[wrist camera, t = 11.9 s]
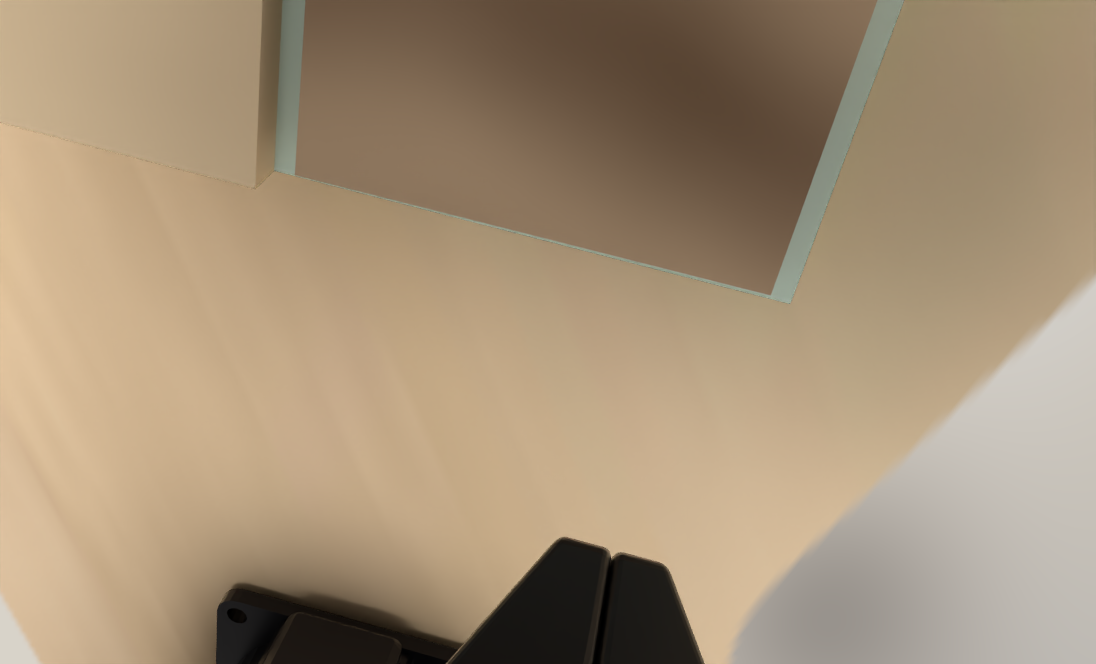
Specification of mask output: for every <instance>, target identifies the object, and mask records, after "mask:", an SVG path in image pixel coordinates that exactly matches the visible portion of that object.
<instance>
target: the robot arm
mask: <svg viewBox="0 0 1096 664" xmlns="http://www.w3.org/2000/svg"><path fill="white" fill-rule="evenodd" d="M216 664H705V663H704V661H703V658H702V656H701V653H700V650H699V648H698V645H697V642H696V640H695V637H694V634H693V632H692V629H691V626H690V624H689V621H688V618H687V616H686V613H685V610H684V608H683V605H682V603H681V600H680V597H679V595H678V592H677V589H676V587H675V584H674V581H673V579H672V576H671V574H670V572H669V570H668V568H667V567H666V566H665V565H663V564H662V563H659V562H656V561H652V560H649V559H645V558H641V557H638V556H634V555H630V554H627V553H621V552H620V553H617V554H615V555H614V556H613V557H612V559H611V555H610V552H609V551H608V550H607V549H606V548H604V547H601V546H598V545H594V544H590V543H586V542H583V541H579V540H575V539H572V538H568V537H562V538H559V539H558V540H556V541H555V542H554V543H553V544H552V545H551V546H550V547H549V548H548V549H547V551H546V552H545V553H544V554H543V555H542V556H541V557H540V558H539V560H538V561H537V562H536V563H535V564H534V565H533V566H532V567H531V569H530V570H529V571H528V572H527V573H526V574H525V575H524V576H523V578H522V579H521V580H520V581H519V582H518V583H517V584H516V585H515V587H514V588H513V589H512V590H511V591H510V592H509V593H508V594H507V596H506V597H505V598H504V599H503V600H502V601H501V602H500V603H499V605H498V606H497V607H496V608H495V609H494V610H493V611H492V612H491V614H490V615H489V616H488V617H487V618H486V619H485V620H484V621H483V623H482V624H481V625H480V626H479V627H478V628H477V629H476V630H475V632H474V633H473V634H472V635H471V636H470V637H469V638H468V639H467V641H466V642H465V643H464V644H463V645H462V646H461V647H460V648H459V650H458V649H455V648H451V647H448V646H444V645H440V644H437V643H433V642H430V641H426V640H423V639H419V638H415V637H412V636H408V635H405V634H401V633H398V632H394V631H390V630H387V629H383V628H380V627H376V626H373V625H369V624H365V623H362V622H358V621H355V620H351V619H348V618H344V617H340V616H337V615H333V614H330V613H326V612H323V611H319V610H315V609H312V608H308V607H305V606H301V605H298V604H294V603H290V602H287V601H283V600H280V599H276V598H273V597H269V596H265V595H262V594H258V593H255V592H251V591H248V590H243V589H233V590H230V591H228V592H227V593H226V594H225V596H224V598H223V599H222V601H221V603H220V604H219V607H218V610H217V648H216Z"/></svg>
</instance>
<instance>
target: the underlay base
mask: <svg viewBox="0 0 1096 664" xmlns="http://www.w3.org/2000/svg"><path fill="white" fill-rule="evenodd" d="M903 3H904V0H877V3H876V6H875V9H874V11H873V14H872V17H871V20H870V22H869V25H868V28H867V31H866V34H865V36H864V39H863V42H862V45H861V47H860V50H859V53H858V56H857V58H856V61H855V64H854V67H853V69H852V72H851V75H850V78H849V81H848V83H847V86H846V89H845V92H844V94H843V97H842V100H841V103H840V105H839V108H838V111H837V114H836V116H835V119H834V122H833V125H832V128H831V130H830V133H829V136H828V139H827V141H826V144H825V147H824V150H823V152H822V155H821V158H820V161H819V163H818V166H817V169H816V172H815V175H814V177H813V180H812V183H811V186H810V188H809V191H808V194H807V197H806V199H805V202H804V205H803V208H802V210H801V213H800V216H799V219H798V222H797V224H796V227H795V230H794V233H793V235H792V238H791V241H790V244H789V246H788V249H787V252H786V255H785V257H784V260H783V263H782V266H781V269H780V271H779V274H778V277H777V280H776V282H775V285H774V288H773V291H772V293H771V295H767V294H763V293H759V292H755V291H751V290H747V289H743V288H739V287H735V286H731V285H727V284H723V283H719V282H715V281H712V280H708V279H704V278H700V277H696V276H692V275H688V274H684V273H680V272H676V271H672V270H668V269H664V268H660V267H656V266H652V265H648V264H644V263H640V262H636V261H632V260H628V259H624V258H621V257H617V256H613V255H609V254H605V253H601V252H597V251H593V250H589V249H585V248H581V247H577V246H573V245H569V244H565V243H561V242H557V241H553V240H549V239H545V238H541V237H537V236H533V235H530V234H526V233H522V232H518V231H514V230H510V229H506V228H502V227H498V226H494V225H490V224H486V223H482V222H478V221H474V220H470V219H466V218H462V217H458V216H454V215H450V214H446V213H443V212H439V211H435V210H431V209H427V208H423V207H419V206H415V205H411V204H407V203H403V202H399V201H395V200H391V199H387V198H383V197H379V196H375V195H371V194H367V193H363V192H359V191H355V190H352V189H348V188H344V187H340V186H336V185H332V184H328V183H324V182H320V181H316V180H312V179H308V178H304V177H300V176H297V177H300V178H304V179H308V180H312V181H316V182H320V183H324V184H327V185H331V186H335V187H339V188H343V189H347V190H351V191H355V192H358V193H362V194H366V195H370V196H374V197H378V198H382V199H386V200H389V201H393V202H397V203H401V204H405V205H409V206H413V207H416V208H420V209H424V210H428V211H432V212H436V213H440V214H444V215H447V216H451V217H455V218H459V219H463V220H467V221H471V222H475V223H478V224H482V225H486V226H490V227H494V228H498V229H502V230H506V231H509V232H513V233H517V234H521V235H525V236H529V237H533V238H536V239H540V240H544V241H548V242H552V243H556V244H560V245H564V246H567V247H571V248H575V249H579V250H583V251H587V252H591V253H595V254H598V255H602V256H606V257H610V258H614V259H618V260H622V261H625V262H629V263H633V264H637V265H641V266H645V267H649V268H653V269H656V270H660V271H664V272H668V273H672V274H676V275H680V276H684V277H687V278H691V279H695V280H699V281H703V282H707V283H711V284H714V285H718V286H722V287H726V288H730V289H734V290H738V291H742V292H745V293H749V294H753V295H757V296H761V297H765V298H769V299H773V300H776V301H780V302H784V303H788V304H790V303H791V301H792V298H793V295H794V293H795V290H796V287H797V285H798V282H799V279H800V277H801V274H802V271H803V269H804V266H805V263H806V261H807V258H808V255H809V253H810V250H811V247H812V245H813V242H814V239H815V237H816V234H817V231H818V229H819V226H820V223H821V221H822V218H823V215H824V213H825V210H826V207H827V205H828V202H829V199H830V197H831V194H832V191H833V189H834V186H835V183H836V181H837V178H838V175H839V173H840V170H841V168H842V165H843V162H844V160H845V157H846V154H847V152H848V149H849V146H850V144H851V141H852V138H853V136H854V133H855V130H856V128H857V125H858V122H859V120H860V117H861V114H862V112H863V109H864V106H865V104H866V101H867V98H868V96H869V93H870V90H871V88H872V85H873V82H874V80H875V77H876V74H877V72H878V69H879V66H880V64H881V61H882V58H883V56H884V53H885V50H886V48H887V45H888V42H889V40H890V37H891V34H892V32H893V29H894V26H895V24H896V21H897V19H898V16H899V13H900V11H901V8H902V5H903ZM304 15H305V0H0V123H2V124H6V125H10V126H14V127H17V128H21V129H25V130H29V131H33V132H37V133H41V134H44V135H48V136H52V137H56V138H60V139H64V140H68V141H71V142H75V143H79V144H83V145H87V146H91V147H95V148H98V149H102V150H106V151H110V152H114V153H118V154H121V155H125V156H129V157H133V158H137V159H141V160H145V161H148V162H152V163H156V164H160V165H164V166H168V167H172V168H175V169H179V170H183V171H187V172H191V173H195V174H199V175H202V176H206V177H210V178H214V179H218V180H222V181H225V182H229V183H233V184H237V185H241V186H245V187H249V188H252V189H256V188H257V187H258V186H259V185H260V184H261V183H262V182H263V181H264V180H265V179H266V178H267V177H268V176H269V175H270V174H271V173H272V172H273V171H277V172H281V173H285V174H289V175H293V176H296V175H295V163H296V147H297V130H298V114H299V97H300V81H301V64H302V48H303V31H304Z"/></svg>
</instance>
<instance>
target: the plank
mask: <svg viewBox="0 0 1096 664" xmlns="http://www.w3.org/2000/svg"><path fill="white" fill-rule="evenodd" d="M876 3H877V0H305V15H304V31H303V48H302V64H301V81H300V97H299V114H298V130H297V147H296V163H295V175H296V176H300V177H304V178H308V179H312V180H316V181H320V182H324V183H328V184H332V185H336V186H340V187H344V188H348V189H352V190H355V191H359V192H363V193H367V194H371V195H375V196H379V197H383V198H387V199H391V200H395V201H399V202H403V203H407V204H411V205H415V206H419V207H423V208H427V209H431V210H435V211H439V212H443V213H446V214H450V215H454V216H458V217H462V218H466V219H470V220H474V221H478V222H482V223H486V224H490V225H494V226H498V227H502V228H506V229H510V230H514V231H518V232H522V233H526V234H530V235H533V236H537V237H541V238H545V239H549V240H553V241H557V242H561V243H565V244H569V245H573V246H577V247H581V248H585V249H589V250H593V251H597V252H601V253H605V254H609V255H613V256H617V257H621V258H624V259H628V260H632V261H636V262H640V263H644V264H648V265H652V266H656V267H660V268H664V269H668V270H672V271H676V272H680V273H684V274H688V275H692V276H696V277H700V278H704V279H708V280H712V281H715V282H719V283H723V284H727V285H731V286H735V287H739V288H743V289H747V290H751V291H755V292H759V293H763V294H767V295H771V293H772V291H773V288H774V285H775V282H776V280H777V277H778V274H779V271H780V269H781V266H782V263H783V260H784V257H785V255H786V252H787V249H788V246H789V244H790V241H791V238H792V235H793V233H794V230H795V227H796V224H797V222H798V219H799V216H800V213H801V210H802V208H803V205H804V202H805V199H806V197H807V194H808V191H809V188H810V186H811V183H812V180H813V177H814V175H815V172H816V169H817V166H818V163H819V161H820V158H821V155H822V152H823V150H824V147H825V144H826V141H827V139H828V136H829V133H830V130H831V128H832V125H833V122H834V119H835V116H836V114H837V111H838V108H839V105H840V103H841V100H842V97H843V94H844V92H845V89H846V86H847V83H848V81H849V78H850V75H851V72H852V69H853V67H854V64H855V61H856V58H857V56H858V53H859V50H860V47H861V45H862V42H863V39H864V36H865V34H866V31H867V28H868V25H869V22H870V20H871V17H872V14H873V11H874V9H875V6H876Z"/></svg>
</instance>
